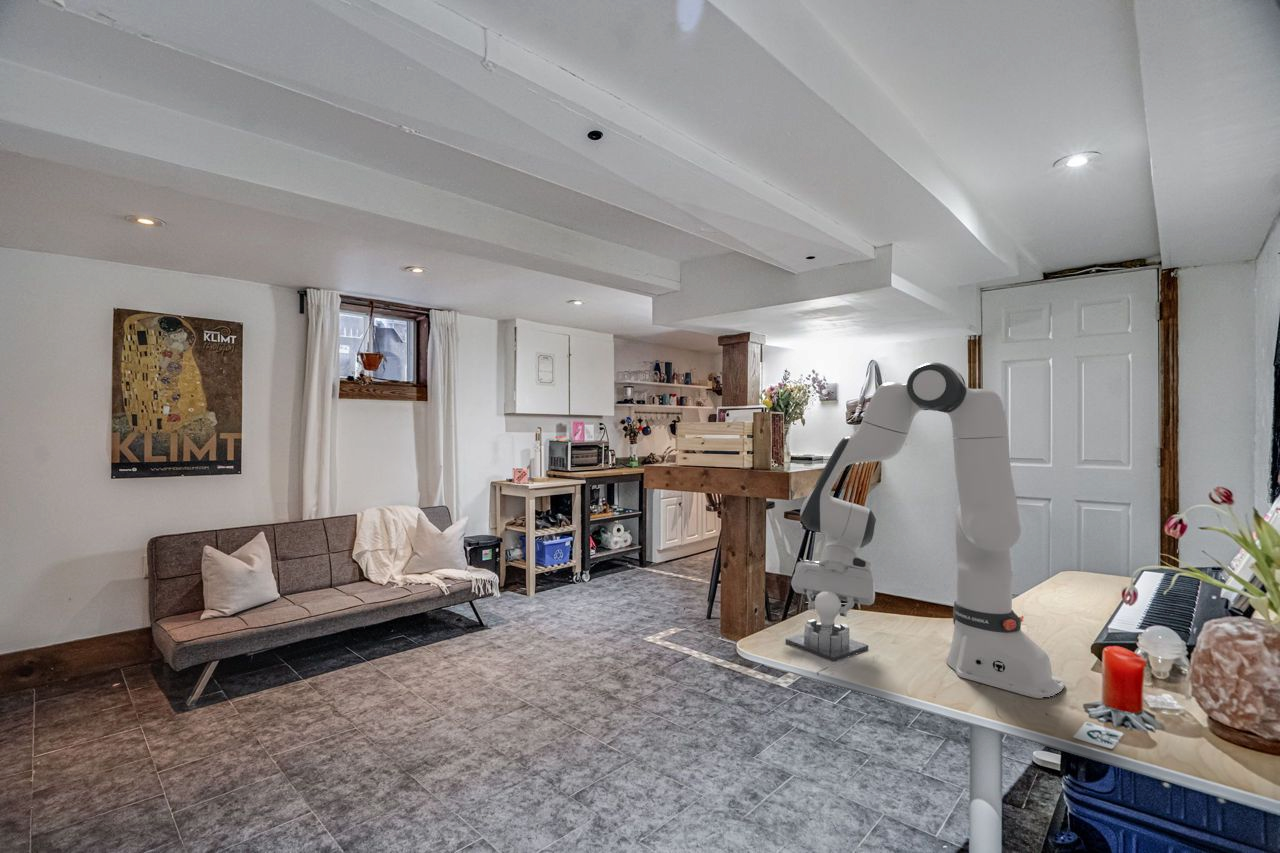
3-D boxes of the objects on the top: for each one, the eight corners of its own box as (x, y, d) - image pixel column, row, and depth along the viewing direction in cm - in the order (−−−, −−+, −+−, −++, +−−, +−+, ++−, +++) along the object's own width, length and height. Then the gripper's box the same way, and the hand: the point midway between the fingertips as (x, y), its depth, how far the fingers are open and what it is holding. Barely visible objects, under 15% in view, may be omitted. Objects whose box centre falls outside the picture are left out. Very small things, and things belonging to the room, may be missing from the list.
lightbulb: (813, 638, 145) (814, 593, 145) (812, 629, 151) (814, 586, 151) (840, 641, 143) (842, 596, 143) (839, 632, 149) (840, 589, 149)
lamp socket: (868, 649, 146) (868, 628, 146) (833, 662, 137) (834, 640, 137) (820, 631, 157) (821, 613, 157) (785, 642, 149) (786, 622, 149)
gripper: (795, 552, 158) (783, 597, 150) (877, 563, 148) (868, 613, 139) (800, 565, 162) (787, 610, 154) (879, 577, 151) (871, 626, 143)
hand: (826, 612), depth 147 cm, fingers closed on lightbulb, 6 cm apart
